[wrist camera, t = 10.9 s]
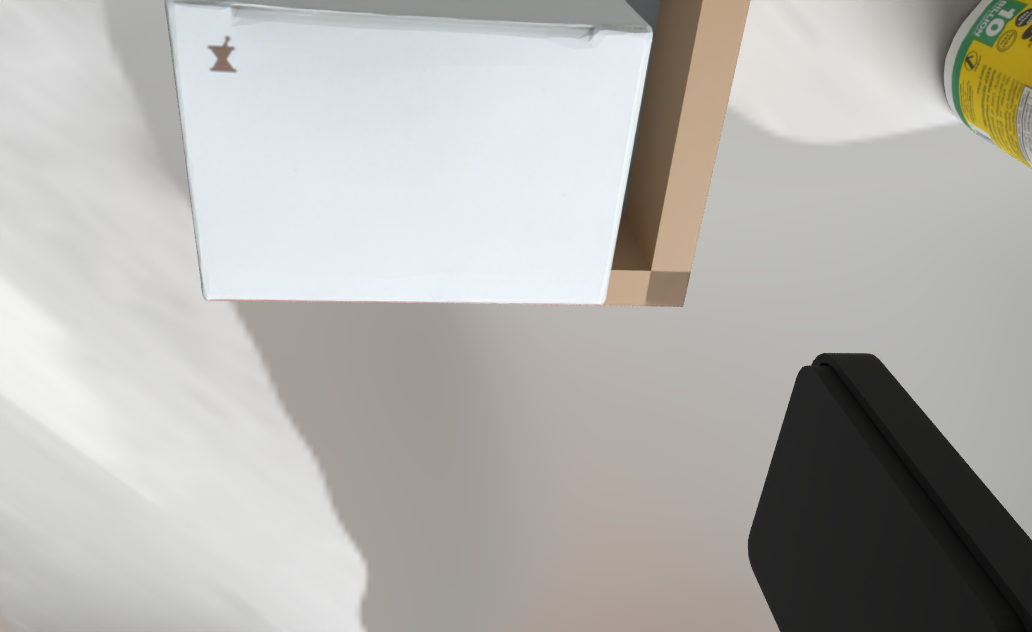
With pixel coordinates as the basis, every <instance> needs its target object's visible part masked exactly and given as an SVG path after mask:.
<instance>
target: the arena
mask: <svg viewBox="0 0 1032 632" xmlns="http://www.w3.org/2000/svg"><path fill="white" fill-rule="evenodd" d="M625 1H626V2H627V3H628V4H629V5H630V6H631V7H632V8H633V9H634V10H635V11H636V12H637V13H638V14H639V15H640V16H641V17H642V18H643V19H644V20H645V21H646V22H647V23H648V24H649V25H650V26H651V28H652V32H653V38H652V43H651V49H650V54H649V59H648V65H647V71H646V77H645V82H644V88H643V94H642V100H641V105H640V111H639V117H638V122H637V128H636V134H635V139H634V145H633V151H632V156H631V162H630V167H629V173H628V179H627V184H626V190H625V195H624V201H623V207H622V212H621V218H620V224H619V229H618V235H617V240H616V245H615V251H614V256H613V262H612V267H611V273H610V278H609V284H608V289H607V295H606V300H605V302H604V303H603V304H602V305H609V306H674V307H675V306H677V307H679V306H680V307H683V305H684V300H685V295H686V291H687V286H688V282H689V277H690V273H691V268H692V264H693V259H694V255H695V250H696V246H697V241H698V237H699V232H700V227H701V223H702V218H703V214H704V209H705V205H706V200H707V196H708V191H709V186H710V182H711V177H712V173H713V168H714V164H715V159H716V155H717V150H718V146H719V141H720V137H721V131H722V127H723V122H724V118H725V114H726V109H727V105H728V100H729V96H730V91H731V86H732V82H733V77H734V73H735V68H736V64H737V59H738V55H739V50H740V45H741V41H742V36H743V32H744V27H745V23H746V18H747V14H748V9H749V4H750V0H625ZM480 304H483V303H480ZM545 305H547V304H545Z"/></svg>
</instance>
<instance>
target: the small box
mask: <svg viewBox="0 0 1032 632" xmlns="http://www.w3.org/2000/svg"><path fill="white" fill-rule="evenodd" d="M165 8H166V16H167V24H168V31H169V39H170V46H171V54H172V62H173V69H174V77H175V85H176V92H177V100H178V107H179V115H180V121H181V130H182V137H183V144H184V153H185V161H186V169H187V176H188V184H189V192H190V200H191V208H192V216H193V224H194V232H195V239H196V247H197V255H198V263H199V270H200V278H201V288H202V294H203V297H204V298H205V300H207V301H287V302H293V301H295V302H404V303H407V302H408V303H483V304H486V303H487V304H549V305H596V306H601V305H602V304H603V303H604V302H605V300H606V295H607V289H608V284H609V278H610V273H611V267H612V262H613V256H614V251H615V245H616V240H617V235H618V229H619V224H620V218H621V212H622V207H623V201H624V195H625V190H626V184H627V179H628V173H629V167H630V162H631V156H632V151H633V145H634V139H635V134H636V128H637V122H638V117H639V111H640V105H641V100H642V94H643V88H644V82H645V77H646V71H647V65H648V59H649V54H650V49H651V43H652V38H653V32H652V28H651V26H650V25H649V24H648V23H647V22H646V21H645V20H644V19H643V18H642V17H641V16H640V15H639V14H638V13H637V12H636V11H635V10H634V9H633V8H632V7H631V6H630V5H629V4H628V3H627V2H626V1H625V0H165Z"/></svg>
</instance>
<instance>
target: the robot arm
mask: <svg viewBox="0 0 1032 632" xmlns="http://www.w3.org/2000/svg"><path fill="white" fill-rule="evenodd" d="M748 555H749V560H750V564H751V567H752V570H753V572H754V574H755V576H756V579H757V581H758V583H759V585H760V588H761V590H762V592H763V594H764V596H765V599H766V601H767V603H768V605H769V608H770V610H771V612H772V614H773V616H774V619H775V621H776V623H777V625H778V627H779V630H780V632H1032V540H1031V539H1030V538H1029V536H1028V535H1027V534H1026V533H1025V532H1024V530H1023V529H1022V528H1021V527H1020V526H1019V525H1018V523H1017V522H1016V521H1015V520H1014V519H1013V517H1012V516H1011V515H1010V514H1009V513H1008V512H1007V510H1006V509H1005V508H1004V507H1003V506H1002V504H1001V503H1000V502H999V501H998V500H997V499H996V497H995V496H994V495H993V494H992V493H991V491H990V490H989V489H988V488H987V487H986V486H985V484H984V483H983V482H982V481H981V479H980V478H979V477H978V476H977V475H976V474H975V472H974V471H973V470H972V469H971V468H970V466H969V465H968V464H967V463H966V462H965V461H964V459H963V458H962V457H961V456H960V455H959V453H958V452H957V451H956V450H955V449H954V448H953V446H952V445H951V444H950V443H949V442H948V440H947V439H946V438H945V437H944V436H943V435H942V433H941V432H940V431H939V430H938V428H937V427H936V426H935V425H934V424H933V423H932V421H931V420H930V419H929V418H928V417H927V415H926V414H925V413H924V412H923V411H922V409H921V408H920V407H919V406H918V405H917V404H916V402H915V401H914V400H913V399H912V398H911V396H910V395H909V394H908V393H907V392H906V391H905V389H904V388H903V387H902V386H901V385H900V383H899V382H898V381H897V380H896V379H895V377H894V376H893V375H892V374H891V373H890V372H889V371H888V369H887V368H886V367H885V366H884V364H883V363H882V362H881V361H880V360H879V359H878V358H877V357H876V356H874V355H872V354H867V353H823V354H820V355H818V356H817V357H816V359H815V360H814V361H813V363H812V365H811V366H804V367H802V369H801V370H800V371H799V373H798V375H797V378H796V381H795V385H794V388H793V391H792V394H791V398H790V401H789V404H788V408H787V411H786V414H785V418H784V421H783V424H782V427H781V431H780V434H779V438H778V441H777V444H776V447H775V451H774V454H773V457H772V461H771V464H770V467H769V471H768V474H767V477H766V481H765V484H764V487H763V491H762V494H761V497H760V501H759V504H758V507H757V510H756V514H755V517H754V520H753V524H752V527H751V531H750V534H749V539H748Z"/></svg>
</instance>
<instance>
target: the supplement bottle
mask: <svg viewBox="0 0 1032 632" xmlns="http://www.w3.org/2000/svg"><path fill="white" fill-rule="evenodd" d="M944 87H945V93H946V98H947V101H948V104H949V106H950V108H951V110H952V111H953V113H954V114H955V116H956V117H957V118H958V119H959V121H960V122H961V123H962V124H963V125H965V126H966V127H968V128H969V129H970V130H972V131H973V132H975V133H976V134H978V135H979V136H981V137H982V138H984V139H985V140H987V141H989V142H990V143H992V144H993V145H995V146H997V147H998V148H1000V149H1001V150H1003V151H1005V152H1006V153H1008V154H1009V155H1011V156H1012V157H1014V158H1016V159H1017V160H1019V161H1021V162H1022V163H1024V164H1025V165H1027V166H1028V167H1030V168H1032V0H982V1H981V2H980V3H979V4H978V5H977V6H976V8H975V9H974V10H973V11H972V12H971V13H970V14H969V16H968V17H967V18H966V19H965V21H964V22H963V23H962V25H961V26H960V28H959V29H958V31H957V33H956V35H955V37H954V39H953V41H952V43H951V46H950V48H949V51H948V54H947V56H946V60H945V68H944Z"/></svg>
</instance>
